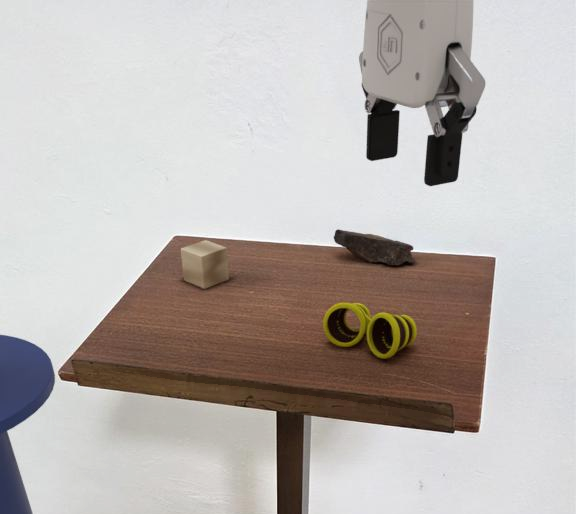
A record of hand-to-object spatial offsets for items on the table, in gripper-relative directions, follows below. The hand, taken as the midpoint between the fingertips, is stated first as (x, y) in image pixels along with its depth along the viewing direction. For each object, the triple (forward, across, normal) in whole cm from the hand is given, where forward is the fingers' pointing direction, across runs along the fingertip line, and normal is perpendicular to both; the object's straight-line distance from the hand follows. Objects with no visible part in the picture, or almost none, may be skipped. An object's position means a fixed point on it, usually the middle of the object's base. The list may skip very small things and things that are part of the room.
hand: (409, 170), depth 69 cm
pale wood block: (+20, -33, -10) cm, 40 cm away
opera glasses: (+20, -6, 0) cm, 21 cm away
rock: (+20, -28, +14) cm, 38 cm away
